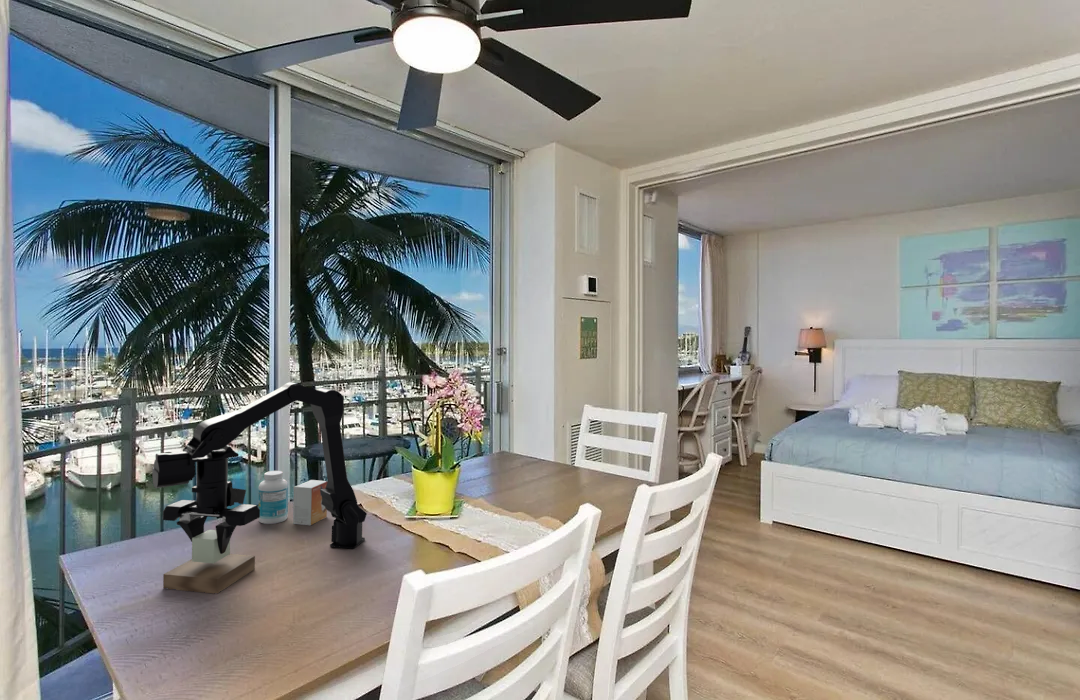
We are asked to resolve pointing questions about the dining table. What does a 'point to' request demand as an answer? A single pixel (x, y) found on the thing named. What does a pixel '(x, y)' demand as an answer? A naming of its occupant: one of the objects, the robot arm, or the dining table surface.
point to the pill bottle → (273, 498)
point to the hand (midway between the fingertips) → (211, 552)
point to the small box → (308, 503)
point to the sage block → (207, 548)
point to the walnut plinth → (209, 574)
